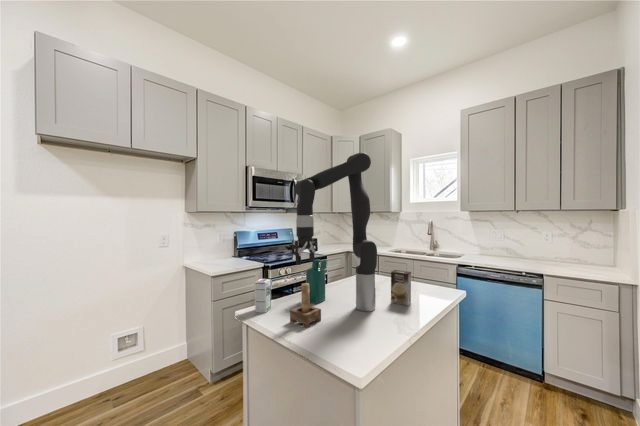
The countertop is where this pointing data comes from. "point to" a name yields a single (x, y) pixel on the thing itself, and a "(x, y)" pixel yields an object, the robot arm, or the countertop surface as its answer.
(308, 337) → the countertop surface
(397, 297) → the coffee box
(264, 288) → the syrup box
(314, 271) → the teal bottle
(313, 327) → the countertop surface
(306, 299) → the rod
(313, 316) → the brown wooden square frame
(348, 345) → the countertop surface
